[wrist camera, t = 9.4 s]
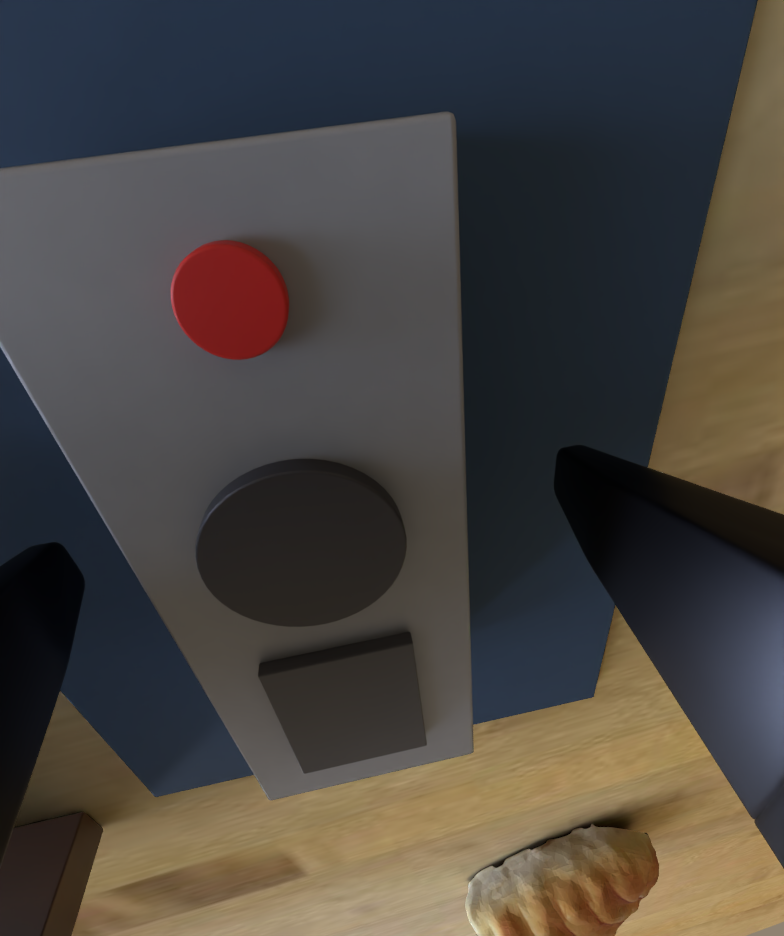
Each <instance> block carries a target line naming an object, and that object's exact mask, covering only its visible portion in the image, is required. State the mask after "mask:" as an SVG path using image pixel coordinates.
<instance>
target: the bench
mask: <svg viewBox="0 0 784 936" xmlns="http://www.w3.org/2000/svg"><path fill="white" fill-rule="evenodd" d="M102 832H103V828H102V827H100V826H99V825H98V824H97V823H96V822H95V821H94V820H93V819H91V818H90V817H89V816H88V815H87V814H86V813H85V812H80V813H76V814H72V815H67V816H63V817H58V818H54V819H50V820H45V821H41V822H37V823H32V824H28V825H23V826H19V827H15V828H13V831H12V834H11V837H10V840H9V843H8V846H7V849H6V852H5V855H4V858H3V861H2V864H1V867H0V936H71V935H72V932H73V928H74V925H75V922H76V918H77V915H78V912H79V909H80V905H81V902H82V899H83V895H84V892H85V889H86V885H87V882H88V879H89V875H90V872H91V869H92V865H93V862H94V859H95V855H96V852H97V849H98V846H99V842H100V839H101V836H102Z"/></svg>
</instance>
